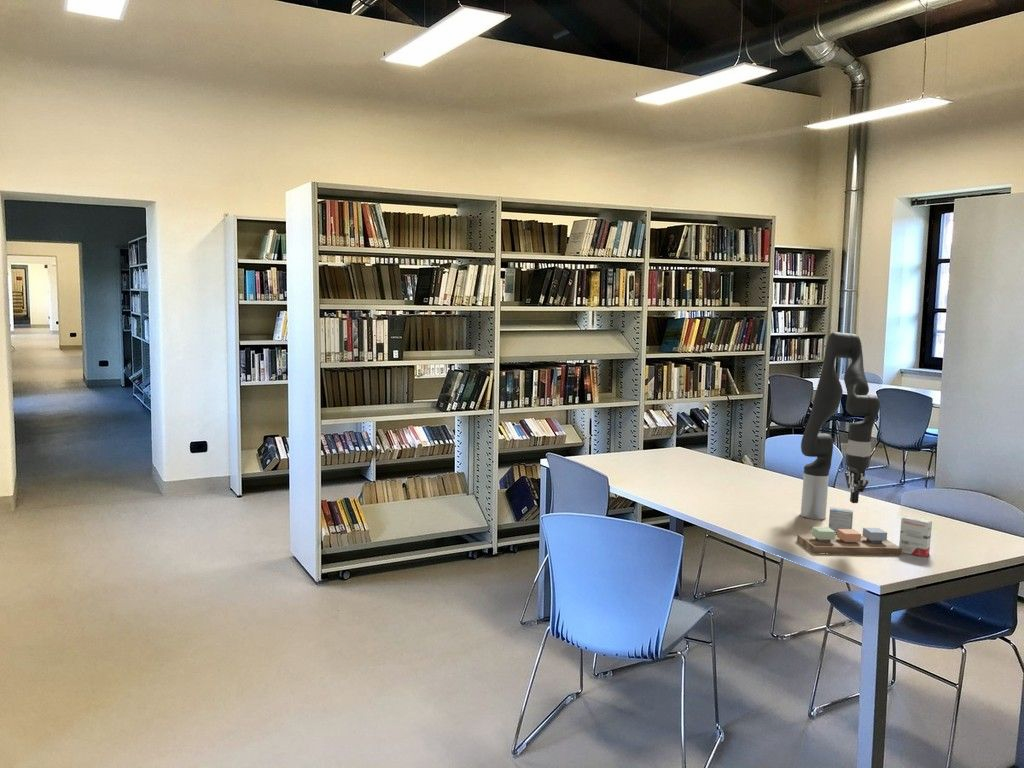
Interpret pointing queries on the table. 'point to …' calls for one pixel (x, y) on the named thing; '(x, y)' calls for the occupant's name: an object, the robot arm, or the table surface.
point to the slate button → (875, 534)
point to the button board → (849, 546)
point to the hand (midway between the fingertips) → (853, 502)
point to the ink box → (915, 536)
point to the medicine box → (840, 518)
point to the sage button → (823, 533)
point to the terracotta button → (849, 535)
